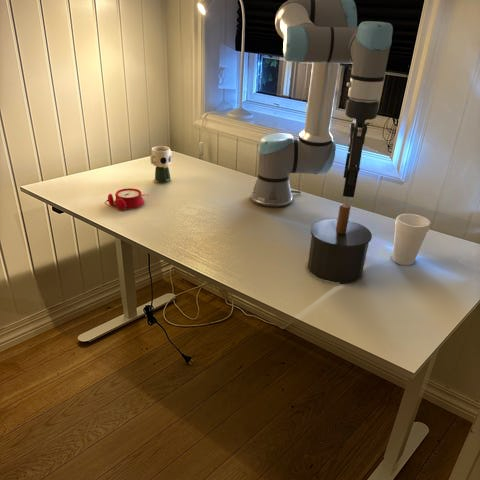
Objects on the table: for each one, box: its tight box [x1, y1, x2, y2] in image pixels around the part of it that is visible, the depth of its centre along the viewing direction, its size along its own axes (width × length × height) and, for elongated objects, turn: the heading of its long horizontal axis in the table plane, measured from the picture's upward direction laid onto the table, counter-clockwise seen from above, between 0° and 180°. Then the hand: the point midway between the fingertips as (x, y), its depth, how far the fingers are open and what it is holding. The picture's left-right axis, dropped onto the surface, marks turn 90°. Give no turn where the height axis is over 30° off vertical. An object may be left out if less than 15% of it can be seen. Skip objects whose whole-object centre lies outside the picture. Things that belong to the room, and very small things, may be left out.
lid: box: [309, 203, 373, 248], centre depth 131 cm, size 17×17×9 cm
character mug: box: [149, 145, 173, 184], centre depth 191 cm, size 11×7×13 cm, turn 139°
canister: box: [306, 235, 370, 285], centre depth 137 cm, size 16×16×12 cm
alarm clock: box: [104, 187, 149, 211], centre depth 172 cm, size 10×6×15 cm
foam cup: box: [392, 213, 431, 266], centre depth 143 cm, size 10×9×13 cm
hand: (348, 186), depth 126 cm, fingers open, 13 cm apart
